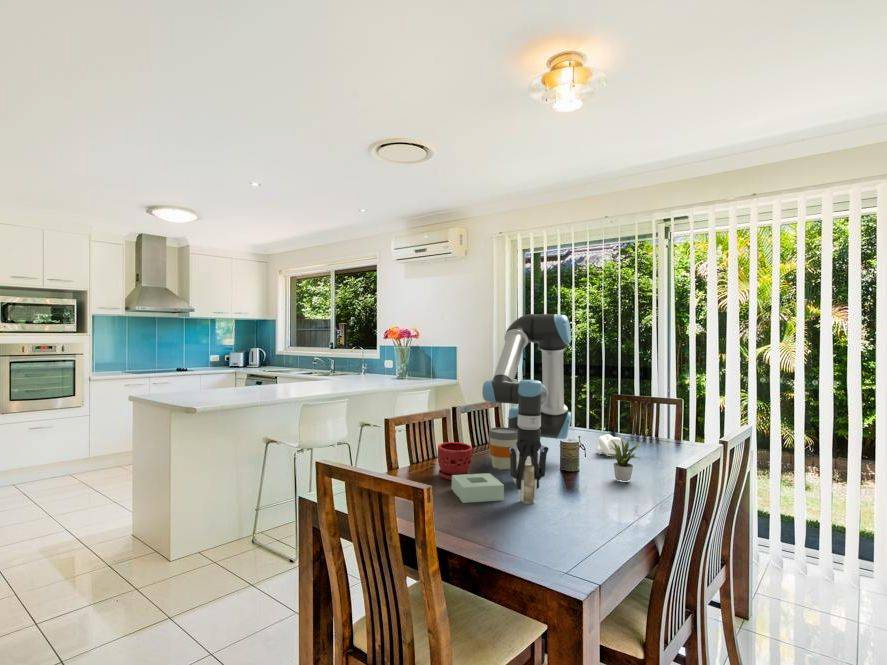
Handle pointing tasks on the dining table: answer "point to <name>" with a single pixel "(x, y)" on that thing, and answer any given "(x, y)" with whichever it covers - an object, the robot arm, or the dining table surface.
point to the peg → (528, 483)
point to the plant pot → (454, 459)
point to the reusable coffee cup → (501, 446)
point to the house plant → (623, 461)
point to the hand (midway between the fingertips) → (527, 498)
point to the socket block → (477, 487)
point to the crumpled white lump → (605, 447)
